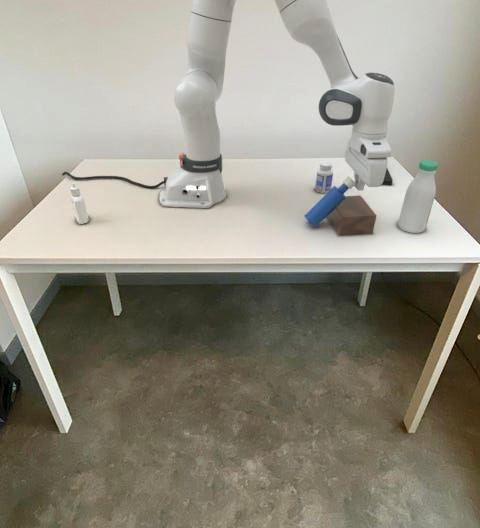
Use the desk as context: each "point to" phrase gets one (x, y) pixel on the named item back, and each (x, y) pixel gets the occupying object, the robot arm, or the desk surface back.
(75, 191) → the eye dropper bottle
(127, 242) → the desk surface
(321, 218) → the bottle
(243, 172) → the desk surface
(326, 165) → the pill bottle
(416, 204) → the milk bottle
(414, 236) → the desk surface
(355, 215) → the wooden box
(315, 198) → the desk surface
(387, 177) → the smart home device
